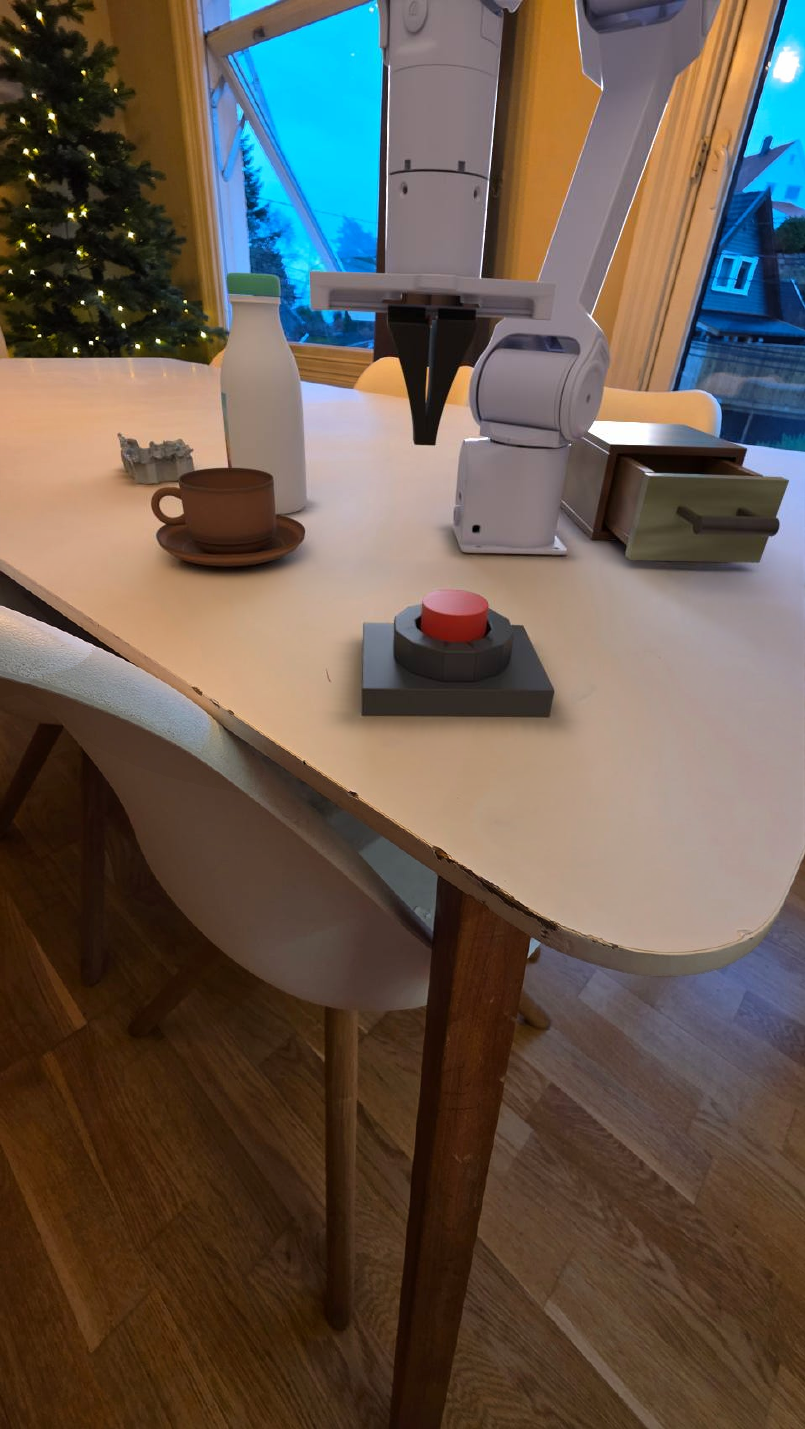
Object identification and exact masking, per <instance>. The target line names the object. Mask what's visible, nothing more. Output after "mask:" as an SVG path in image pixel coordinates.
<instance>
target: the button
mask: <svg viewBox="0 0 805 1429" xmlns="http://www.w3.org/2000/svg"><path fill="white" fill-rule="evenodd" d="M421 604H422V612H421V632H422V633H424V634H425V635H427V636H428V637H431V638H435V639H439V640H443V641H447V642H469V641H473V640H477V639H480V638H484V636H485V633H486V624H487V616H488V608H489V607H490V604H489V601H488V600H487V599H486V598H485V597H484V596H482V595H480V594H479V593H478V594H477V593H475V592H472V591H468V590H461V589H439V590H435V591H431V592H429V593H427V594H425V595H424V596H423V597H422V599H421Z"/></svg>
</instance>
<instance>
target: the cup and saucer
mask: <svg viewBox="0 0 805 1429" xmlns="http://www.w3.org/2000/svg"><path fill="white" fill-rule="evenodd" d="M177 482H178V487H176V486H175V487H174V486H165V487H161V488H159V489H157V490H156V491H155V492H154V493H153V494H152V496H151V499H150V507H151V511H152V513H153V515H154V516H155V518H156V519H157V520H158V521H160V522H161V523H163V525H162V526H161V527H160V528H159V529H158V530H157V531H156V534H155V538H156V540H157V543H158V545H159V546H160V548H161V549H163V550H164V551H166V552H167V553H168V554H170V555H171V556H173V557H175V558H177V559H179V560H182V561H185V562H189V563H193V564H197V565H202V566H203V565H204V566H210V567H211V566H213V567H241V566H243V567H244V566H253V565H258V564H262V563H268V562H272V561H276V560H278V559H280V558H283V557H284V556H287V555H288V554H290V553H292V552H294V551H295V550H296V549H297V548H298V547H299V546H300V545H301V544H302V543H303V541H304V540H305V537H306V527H305V526H304V525H303V524H302V523H301V522H299V521H298V520H296V519H294V518H292V517H288V516H286V515H283V514H276V513H275V495H274V479H273V476H272V475H271V474H269V473H267V472H264V471H260V470H255V469H247V468H228V467H210V468H202V469H197V470H194V471H191V472H188V473H185V474H183V475H181V476H180V477H179V478H178V481H177ZM165 497H174V498H176V499H179V500H181V505H182V512H183V513H182V514H180V515H179V516H173V517H171V516H169V515H166V514H164V512H163V511H162V509H161V506H160V504H161V503H160V502H161V500H163V498H165Z"/></svg>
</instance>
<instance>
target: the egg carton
mask: <svg viewBox="0 0 805 1429" xmlns="http://www.w3.org/2000/svg"><path fill="white" fill-rule="evenodd" d="M116 435H117V438H118V439H119V445H120V457H121V458H120V459H121V461H122V465H123V468H124V471H125V472H128V474H129V476H130V477H132V478H134V482H135V484H144V485H145V484H146V485H151V484H157V485H158V484H159V483H163V482H168V481H169V482H170V481H171V482H172V481H177V482H178V478H179V477H180V476H181V475H183V474H185V473H188V472H191V471H195V465H194V458H193V456H192V455H191V454H192V453H193V452H194V448H191V447H190V445H189V444H186V443H185V442H184V440H183V439H182V438H178V439H175V440H166V441H165V440H162V443H156V442H154V441H153V440H151V441H149V443H148V446H149V447H145V448H144V447H140V445H139V443H138V441H137V439H135V438H132V437H129V438H126V437H124V436H123V434H122V433H121V432H118V433H116Z"/></svg>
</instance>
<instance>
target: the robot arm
mask: <svg viewBox="0 0 805 1429" xmlns="http://www.w3.org/2000/svg"><path fill="white" fill-rule="evenodd" d="M521 2H522V0H376V5H377V11H378V22H379V23H378V24H379V28H378V29H379V30H378V32H379V33H378V36H379V39H378V41H379V42H378V48H379V49H381V52H382V53H381V54H382V56H381V58H382V62H383V64H384V66H386V67H387V68H388V87H387V89H388V92H387V93H388V95H387V96H388V97H387V98H388V99H387V144H386V147H387V148H386V149H387V150H386V206H385V208H386V209H385V254H384V256H385V258H384V259H385V263H384V268H385V269H384V273H383V272H356V271H354V272H353V271H328V270H327V271H324V270H309V271H308V272H309V300H310V310H311V311H327V312H328V311H329V312H330V311H337V312H359V313H361V312H362V313H385V314H386V325H387V329H388V330H389V334H390V337H391V340H392V342H393V345H394V346H393V347H394V349H395V351H396V355H397V357H398V361H399V365H400V369H401V372H402V375H403V379H404V384H405V387H406V392H407V397H408V402H409V408H410V415H411V425H412V441H413V444H414V446H432V447H433V446H436V444H437V438H438V431H439V427H440V423H441V419H442V416H443V413H444V408H445V405H446V402H447V399H448V397H449V394H450V391H451V389H452V386H453V383H454V381H455V379H456V376H457V375H458V372H459V369H460V367H461V365H462V363H463V361H464V359H465V357H466V354H467V352H468V350H469V349H470V347H471V345H472V343H473V341H474V338H475V336H476V333H477V331H478V321H477V320H476V318H492V319H493V318H496V319H497V318H499V319H501V320H500V321H499V322H498V323H497V324H495V326H494V329H493V333H492V336H491V338H490V341H489V343H488V345H487V346H486V348H485V349H484V351H483V352H482V354H480V356H479V358H478V360H477V362H476V363H475V365H474V366H473V370H472V372H471V376H470V380H469V387H468V402H469V403H468V404H469V408H470V411H471V415H472V418H473V420H474V422H475V423H476V425H478V426H479V436H480V437H481V438H465V439H463V440H462V442H461V445H460V449H459V451H460V452H459V456H458V464H457V465H458V466H457V477H456V489H455V500H454V508H453V517H452V518H453V519H452V521H453V522H452V526H451V527H452V529H453V532H454V535H455V538H456V541H457V543H458V546H459V548H460V551H461V552H463V553H468V554H469V553H471V554H473V553H475V554H511V555H512V554H514V555H515V554H517V555H556V556H557V555H558V556H559V555H562V556H565V555H567V554H568V548H567V546H566V545H565V544H564V543H563V541H561V539H560V538H559V537H558V536H557V534H556V532H557V528H558V521H559V516H560V515H559V514H560V511H561V510H560V509H561V507H560V504H561V498H562V493H563V487H564V481H565V475H566V469H567V464H568V458H569V452H570V446H571V444H572V443H576V442H578V441H579V439H581V438H582V437H583V436H584V435H585V434H586V433H587V432H588V431H589V430H590V428H591V427H592V425H593V424H594V422H595V421H596V419H597V417H598V414H599V412H600V408H601V405H602V401H603V396H604V391H605V390H604V389H605V383H606V378H607V374H608V370H609V368H610V365H611V351H610V345H609V342H608V339H607V336H606V334H605V333H604V331H603V329H602V328H601V327H600V326H599V324H597V322H596V321H595V320H594V318H593V313H594V310H595V308H596V305H597V302H598V299H599V296H600V294H601V291H602V289H603V286H604V283H605V280H606V277H607V274H608V271H609V268H610V266H611V263H612V260H613V258H614V255H615V251H616V249H617V246H618V243H619V241H620V238H621V235H622V233H623V229H624V226H625V224H626V221H627V218H628V215H629V212H630V210H631V207H632V204H633V202H634V199H635V196H636V194H637V190H638V188H639V184H640V182H641V179H642V176H643V173H644V170H645V168H646V165H647V162H648V160H649V156H650V153H651V152H652V149H653V145H654V142H655V139H656V137H657V134H658V131H659V128H660V127H661V126H660V125H661V123H662V120H663V118H664V114H665V112H666V109H667V106H668V104H669V100H670V98H671V95H672V92H673V88H674V85H675V83H676V80H677V77H678V76H680V75H681V73H683V72H684V71H685V70H687V68H688V67H689V66H690V65H692V63H694V62H695V61H696V60H697V59H698V58H699V57H700V56H701V54H702V52H703V49H704V46H705V44H706V41H707V38H708V36H709V33H710V32H711V30H712V28H713V25H714V22H715V19H716V17H717V14H718V11H719V9H720V6H721V3H722V0H574V6H575V17H576V28H577V38H578V46H579V47H578V48H579V52H580V58H581V60H580V61H581V69H582V70H581V71H582V74H583V75H584V76H586V77H587V78H588V79H589V80H590V81H592V82H593V83H594V84H595V85H596V86H598V87H599V88H600V89H601V93H600V97H599V100H598V102H597V105H596V109H595V111H594V114H593V117H592V119H591V122H590V126H589V129H588V132H587V135H586V137H585V140H584V144H583V146H582V150H581V152H580V155H579V159H578V160H577V163H576V167H575V170H574V173H573V175H572V179H571V181H570V184H569V186H568V191H567V193H566V196H565V199H564V202H563V205H562V207H561V211H560V213H559V216H558V219H557V222H556V225H555V229H554V231H553V234H552V237H551V240H550V243H549V246H548V248H547V252H546V254H545V255H546V256H545V259H544V261H543V264H542V266H541V269H540V273H539V275H538V277H537V281H535V280H534V281H533V280H532V281H531V280H517V279H503V278H488V277H487V278H486V277H482V270H483V268H482V267H483V257H484V244H485V234H486V232H485V231H486V222H487V212H488V211H487V209H488V199H489V186H490V175H491V164H492V152H493V143H494V142H493V140H494V128H495V119H496V118H495V117H496V108H497V106H496V105H497V96H498V95H497V94H498V83H499V73H500V60H501V49H502V40H503V38H502V37H503V28H504V16H505V15H504V11H503V10H504V9H508V12H509V13H514V12H515V11H516V10H517V9H518V7H519V5H520V4H521ZM403 294H416V295H437V296H438V295H439V296H441V295H442V296H460V300H459V302H460V303H461V304H475V305H478V306H479V307H478V306H477V307H476V306H458V305H457V306H455V305H435V304H433V305H432V304H411V303H392V302H390V303H389V302H383V301H385V300H390V301H401V300H402V299H403ZM427 315H430V316H435V318H434V317H433V318H432V319H431V320H432V321H431V325H429V324H430V323H429V320H430V319H429V318H427V317H426V316H427Z"/></svg>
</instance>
